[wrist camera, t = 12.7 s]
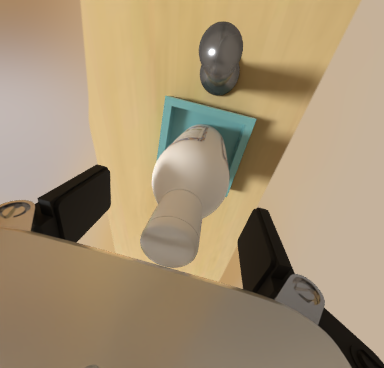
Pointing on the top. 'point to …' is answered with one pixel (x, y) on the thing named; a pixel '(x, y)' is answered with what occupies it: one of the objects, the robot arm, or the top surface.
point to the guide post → (220, 57)
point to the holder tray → (202, 114)
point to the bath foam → (185, 195)
